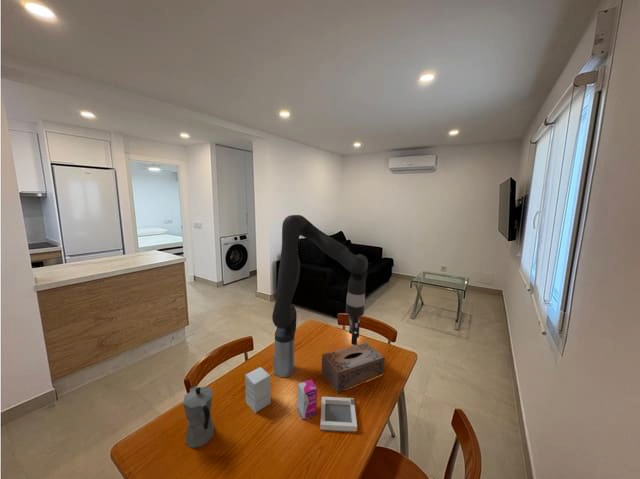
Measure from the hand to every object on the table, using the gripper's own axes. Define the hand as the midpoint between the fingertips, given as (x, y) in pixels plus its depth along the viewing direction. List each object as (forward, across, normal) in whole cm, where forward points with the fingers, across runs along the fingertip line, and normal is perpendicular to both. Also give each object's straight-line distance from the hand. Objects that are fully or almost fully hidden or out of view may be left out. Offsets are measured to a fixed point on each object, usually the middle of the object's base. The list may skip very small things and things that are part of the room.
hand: (352, 338), depth 106 cm
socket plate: (+24, +15, -6) cm, 28 cm away
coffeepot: (+25, +26, -53) cm, 64 cm away
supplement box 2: (+24, +13, -18) cm, 33 cm away
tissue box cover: (+24, -9, +2) cm, 26 cm away
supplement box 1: (+25, +10, -38) cm, 46 cm away
